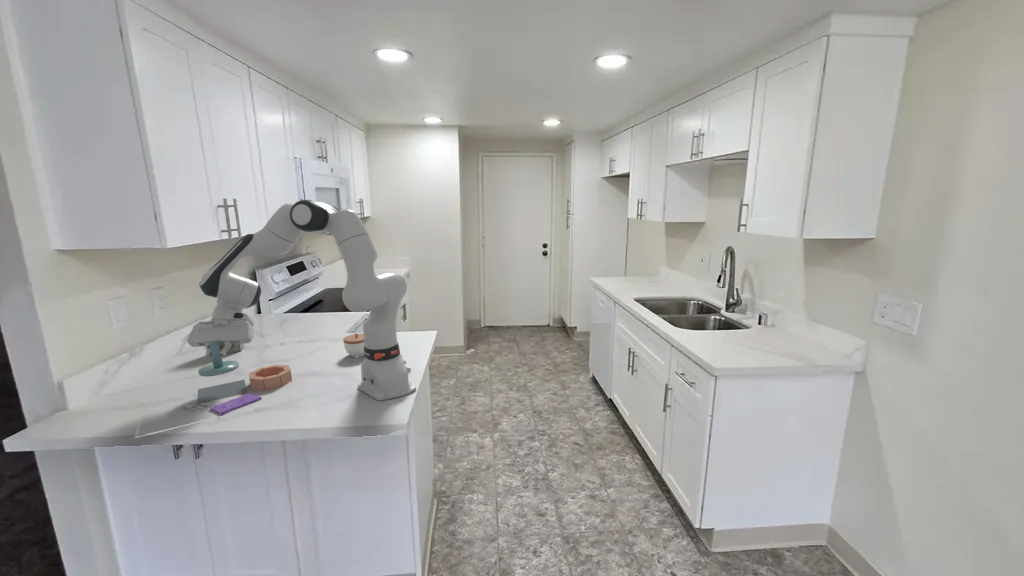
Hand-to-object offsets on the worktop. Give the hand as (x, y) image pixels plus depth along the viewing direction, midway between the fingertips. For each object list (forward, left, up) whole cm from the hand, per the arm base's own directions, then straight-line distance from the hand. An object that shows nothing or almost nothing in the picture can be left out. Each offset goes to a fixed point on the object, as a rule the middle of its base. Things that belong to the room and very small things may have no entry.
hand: (215, 355), depth 148 cm
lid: (0, 0, -5) cm, 5 cm away
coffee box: (+51, -4, -14) cm, 53 cm away
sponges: (-14, -4, -15) cm, 21 cm away
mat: (+1, 0, -14) cm, 14 cm away
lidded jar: (+10, -49, -14) cm, 52 cm away
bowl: (-1, -15, -14) cm, 21 cm away
